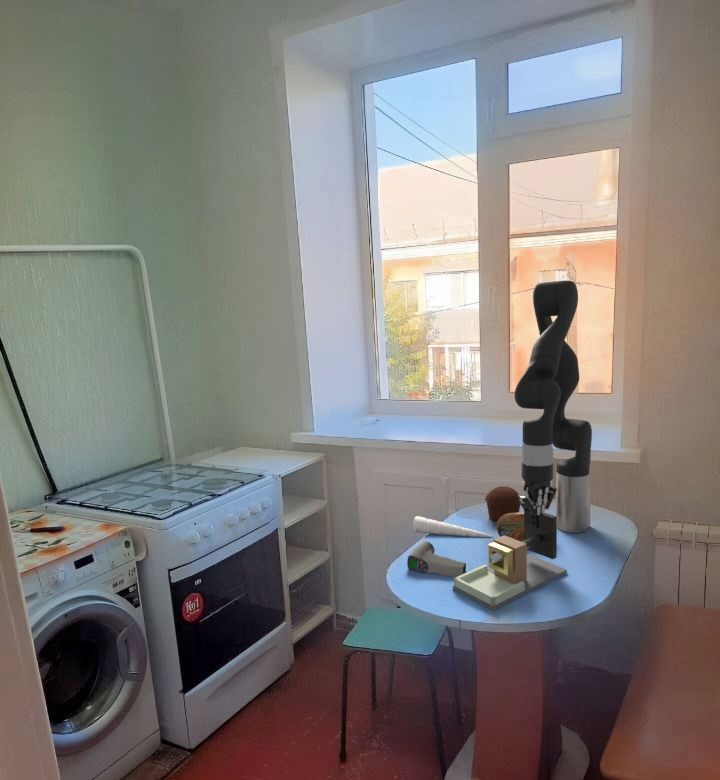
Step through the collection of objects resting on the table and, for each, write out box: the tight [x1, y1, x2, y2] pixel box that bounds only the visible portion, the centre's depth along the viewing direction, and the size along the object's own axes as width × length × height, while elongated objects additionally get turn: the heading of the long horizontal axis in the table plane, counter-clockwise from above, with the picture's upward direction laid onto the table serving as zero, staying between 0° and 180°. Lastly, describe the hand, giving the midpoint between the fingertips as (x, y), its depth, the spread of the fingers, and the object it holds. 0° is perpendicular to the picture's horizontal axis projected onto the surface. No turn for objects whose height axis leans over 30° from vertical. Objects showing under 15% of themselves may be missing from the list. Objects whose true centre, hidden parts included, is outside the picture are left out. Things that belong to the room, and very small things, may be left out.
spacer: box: [488, 541, 513, 576], centre depth 147 cm, size 2×6×6 cm, turn 36°
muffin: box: [484, 485, 521, 523], centre depth 190 cm, size 12×11×10 cm
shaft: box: [488, 510, 558, 563], centre depth 151 cm, size 19×9×11 cm, turn 126°
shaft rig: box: [452, 535, 567, 612], centre depth 150 cm, size 28×13×11 cm, turn 126°
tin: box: [496, 511, 524, 542], centre depth 174 cm, size 15×3×8 cm, turn 92°
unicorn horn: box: [412, 515, 493, 538], centre depth 180 cm, size 5×24×5 cm, turn 67°
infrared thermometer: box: [406, 540, 467, 578], centre depth 161 cm, size 5×12×15 cm
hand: (537, 527), depth 150 cm, fingers closed
